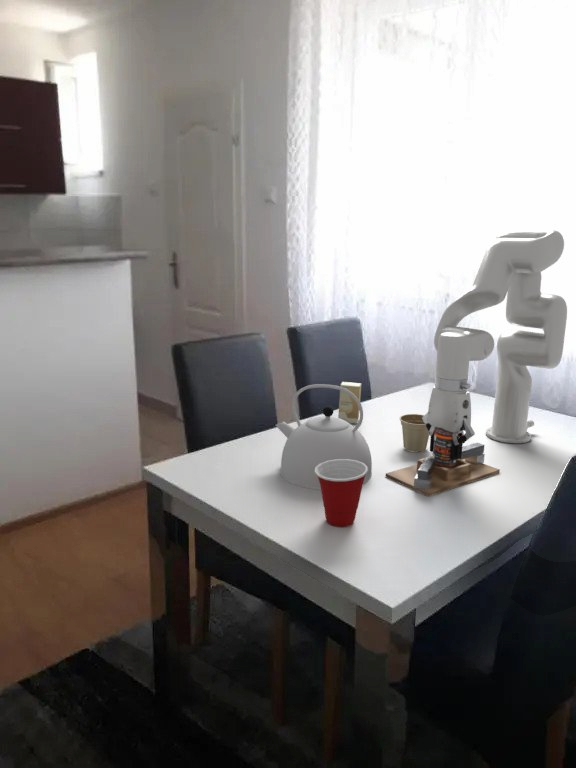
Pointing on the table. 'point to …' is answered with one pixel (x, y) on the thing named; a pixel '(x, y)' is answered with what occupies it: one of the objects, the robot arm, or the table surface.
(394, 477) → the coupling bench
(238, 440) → the table surface
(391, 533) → the table surface
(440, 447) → the supplement bottle
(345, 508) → the plastic cup
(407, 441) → the flower pot
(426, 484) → the pair of grey blocks
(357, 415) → the skincare box
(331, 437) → the kettle
